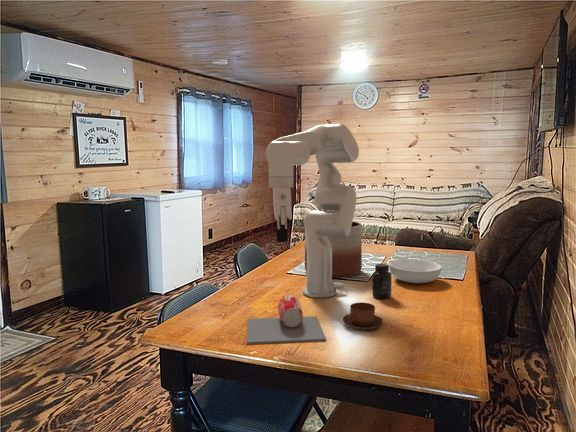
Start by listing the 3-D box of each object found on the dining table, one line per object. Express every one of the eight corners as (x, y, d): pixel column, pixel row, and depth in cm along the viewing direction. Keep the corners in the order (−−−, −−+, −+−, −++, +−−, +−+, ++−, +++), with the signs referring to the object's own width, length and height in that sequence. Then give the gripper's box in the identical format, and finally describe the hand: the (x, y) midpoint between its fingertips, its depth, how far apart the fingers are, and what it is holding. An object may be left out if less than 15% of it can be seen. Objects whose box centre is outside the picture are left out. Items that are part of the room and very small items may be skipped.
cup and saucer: (373, 336, 126) (374, 315, 125) (335, 328, 132) (335, 308, 132) (388, 323, 136) (388, 304, 135) (352, 316, 143) (352, 297, 142)
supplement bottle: (393, 295, 163) (393, 263, 162) (389, 300, 157) (389, 268, 156) (374, 293, 166) (375, 262, 165) (370, 298, 160) (370, 266, 159)
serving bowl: (385, 284, 178) (385, 268, 177) (393, 272, 197) (393, 257, 196) (439, 290, 170) (440, 272, 169) (442, 276, 189) (443, 261, 188)
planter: (355, 264, 212) (356, 219, 209) (367, 279, 186) (367, 227, 184) (302, 265, 211) (302, 220, 208) (307, 280, 185) (306, 228, 183)
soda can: (303, 307, 142) (308, 320, 130) (285, 319, 142) (288, 334, 130) (291, 289, 141) (295, 301, 129) (273, 301, 141) (275, 315, 129)
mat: (316, 317, 141) (316, 316, 141) (326, 340, 123) (326, 338, 123) (247, 320, 139) (247, 318, 139) (247, 344, 121) (247, 342, 121)
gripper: (296, 183, 127) (296, 246, 130) (291, 180, 142) (291, 236, 145) (270, 184, 127) (271, 246, 129) (267, 181, 141) (269, 237, 144)
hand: (282, 241), depth 137 cm, fingers closed
